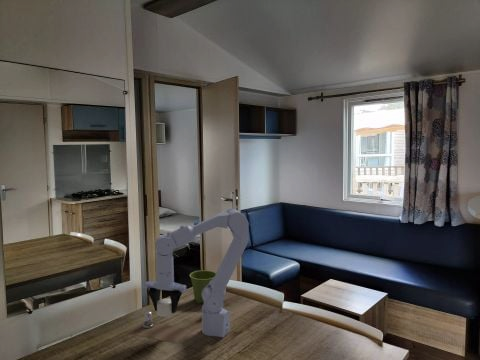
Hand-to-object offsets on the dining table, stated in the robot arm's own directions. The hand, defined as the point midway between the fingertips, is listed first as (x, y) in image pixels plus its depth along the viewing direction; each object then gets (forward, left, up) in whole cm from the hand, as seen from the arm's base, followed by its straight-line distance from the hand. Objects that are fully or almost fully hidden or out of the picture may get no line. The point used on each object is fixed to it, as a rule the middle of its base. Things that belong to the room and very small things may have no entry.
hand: (165, 310), depth 126 cm
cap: (0, 0, -1) cm, 1 cm away
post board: (+4, -2, -10) cm, 11 cm away
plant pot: (+3, -34, -10) cm, 36 cm away
